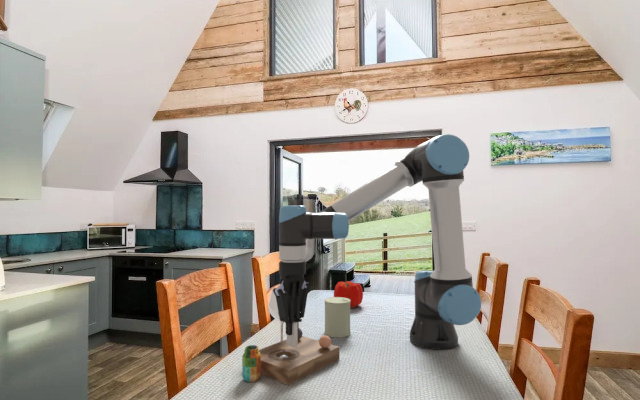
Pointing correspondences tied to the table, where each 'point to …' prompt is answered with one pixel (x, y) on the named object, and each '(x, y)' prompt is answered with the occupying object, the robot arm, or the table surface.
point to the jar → (251, 363)
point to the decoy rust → (325, 341)
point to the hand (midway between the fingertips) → (292, 345)
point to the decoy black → (299, 333)
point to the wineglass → (275, 313)
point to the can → (337, 317)
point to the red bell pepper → (349, 292)
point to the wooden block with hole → (296, 359)
